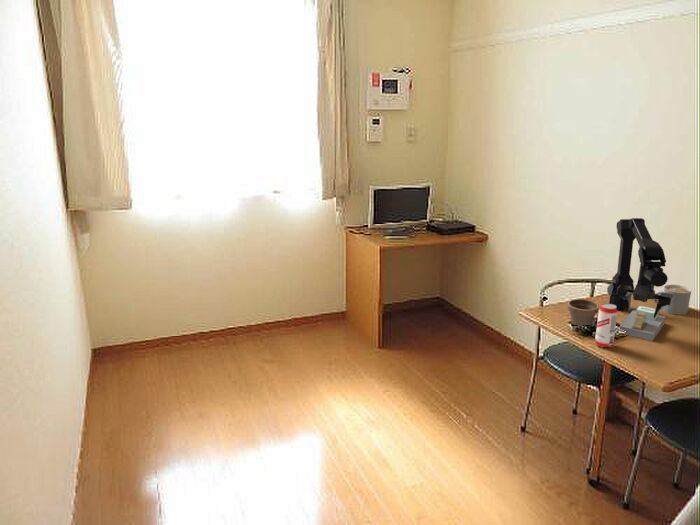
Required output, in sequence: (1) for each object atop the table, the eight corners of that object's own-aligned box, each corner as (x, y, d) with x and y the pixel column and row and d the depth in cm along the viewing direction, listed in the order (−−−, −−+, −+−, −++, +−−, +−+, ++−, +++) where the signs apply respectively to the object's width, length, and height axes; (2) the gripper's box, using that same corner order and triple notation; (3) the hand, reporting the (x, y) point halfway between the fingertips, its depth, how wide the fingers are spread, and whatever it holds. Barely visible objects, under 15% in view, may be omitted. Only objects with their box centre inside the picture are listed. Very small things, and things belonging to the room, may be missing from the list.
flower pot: (580, 335, 210) (582, 311, 207) (559, 324, 220) (561, 301, 217) (602, 329, 214) (605, 306, 211) (581, 319, 224) (583, 296, 221)
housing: (618, 333, 211) (619, 325, 210) (632, 316, 225) (633, 309, 224) (652, 341, 203) (653, 333, 202) (664, 323, 218) (665, 316, 217)
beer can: (605, 350, 198) (610, 310, 193) (590, 343, 203) (595, 304, 198) (616, 346, 200) (622, 307, 196) (602, 340, 206) (607, 301, 201)
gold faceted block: (634, 327, 208) (635, 315, 206) (638, 321, 213) (640, 309, 211) (640, 329, 207) (642, 317, 205) (645, 323, 212) (647, 311, 210)
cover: (635, 316, 218) (636, 308, 217) (638, 312, 222) (639, 304, 221) (654, 320, 214) (656, 312, 213) (657, 316, 217) (658, 308, 216)
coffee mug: (687, 308, 232) (691, 286, 228) (687, 316, 224) (691, 294, 220) (652, 302, 238) (655, 281, 235) (650, 310, 230) (654, 288, 227)
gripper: (614, 278, 204) (609, 315, 209) (670, 288, 192) (663, 328, 197) (622, 270, 212) (617, 306, 217) (676, 279, 200) (670, 318, 205)
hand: (641, 314), depth 209 cm, fingers open, 9 cm apart
